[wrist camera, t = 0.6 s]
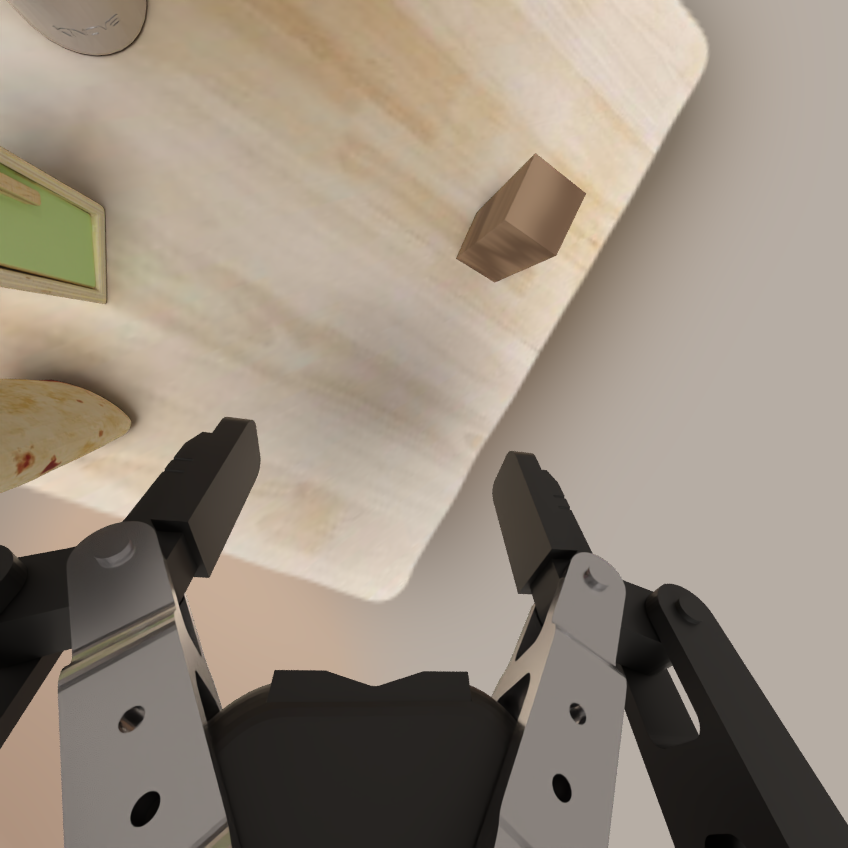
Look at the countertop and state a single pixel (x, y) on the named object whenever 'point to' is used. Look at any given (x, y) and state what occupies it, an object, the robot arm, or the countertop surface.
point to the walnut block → (522, 222)
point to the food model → (51, 427)
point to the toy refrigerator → (49, 235)
